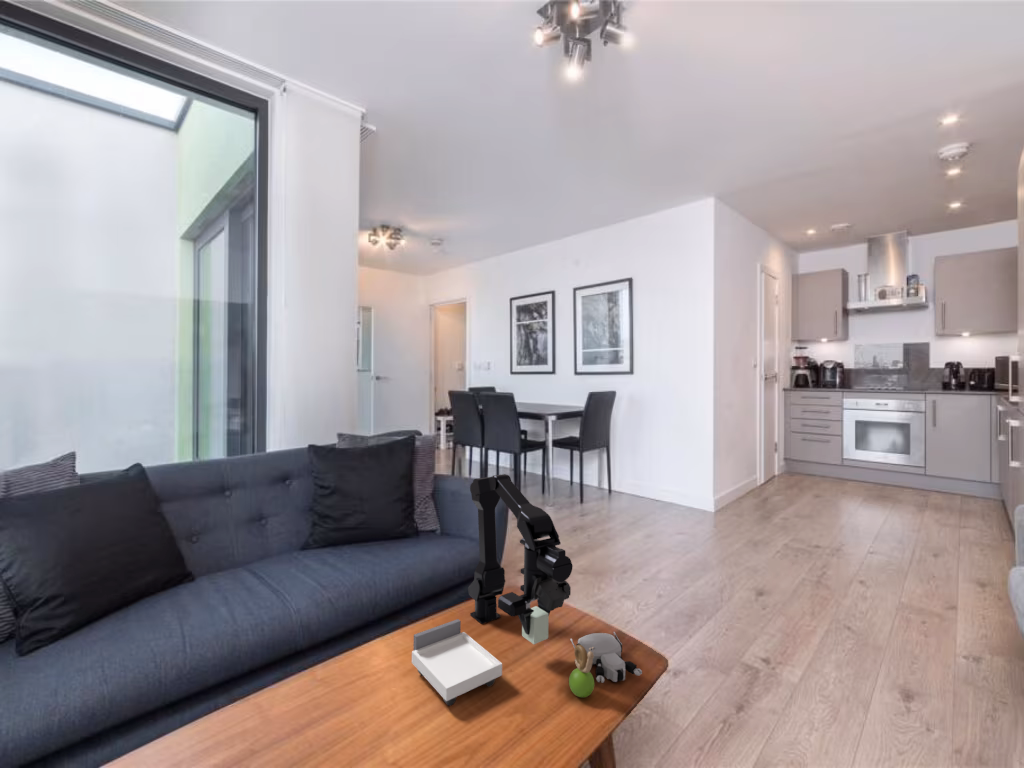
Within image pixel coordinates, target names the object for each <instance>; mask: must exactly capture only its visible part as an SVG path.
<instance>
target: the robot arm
mask: <svg viewBox="0 0 1024 768" xmlns="http://www.w3.org/2000/svg"><path fill="white" fill-rule="evenodd" d="M469 490H470V494H471V501H472V502H473V504H474V506H476V508H477V515H478V516H477V517H478V518H477V519H478V521H477V522H478V542H479V543H478V546H479V561H478V563H477V566H476V568H475V569H474V574H473V575H474V576H473V577H474V579H473V581H472V582H471V583H470V584H469V585H468V587H467V590H468V596H469V597H471V598H472V600H474V611H472V612H470V616H471V617H472V618H473V619H475V620H476V621H477V622H478V623H480V624H481V625H484V624H486V623H490V622H491V621H495V620H497V619H500V618H501V616H502V615H501V614H499V613H498V612H497V611H498V609H497V608H499V609H500V610H501V611H502V612H504V613H505V614H508V615H509V616H510V617H514V618H515V617H517V616H518V618H519V621H520V624H521V627H522V626H523V628H524V631H525V633H526V634H527V635H529V633H530V616H531V614H532V613H533V612H534V610H532V609H531V608H532V607H531V603H532V602H535V601H537V607H539V608H540V609H542V610H544V611H545V612H547V613H549V615H550V613H551V611H554V610H556V609H558V608H562V607H563V605H564V602H565V601H566V600H568V599H570V596H571V590H572V589H571V585H570V583H569V582H568V581H567V580H568V579H569V577H570V576H571V574H572V572H573V567H574V565H573V562H572V560H571V558H570V557H569V556H567V555H566V553H567V552H566V549H564V548H560V547H558V546H560V545H561V541H560V538H559V537H560V536H559V533H558V532H557V529H556V527H555V524H554V522H553V519H552V517H551V516H550V515H549V514H548V512H546V511H545V510H544V509H542V508H541V507H538V506H535V505H534V504H532V503H530V501H529V500H528V498H526V496H525V495H524V494H523V493H522V492H521V491H520V490H519V488H518V487H517V486H516V485H515V483H514V482H513V481H512V479H511V476H510V475H508V474H506V473H503V474H495V475H492V476H486V477H479V478H474V479H473V480H472V482H471V483H470V485H469ZM500 500H502V501H503V503H504V504H505V505H506V506H507V508H508V509H509V510H510V511H511V513H512V514H513V515H514V517H515V518H516V528H517V530H518V531H519V533H520V535H521V536H522V538H521V539H519V543H520V544H522V545H523V546H524V549H523V550H524V551H523V552H524V553H523V561H524V562H523V567H522V568H520V574H522V575H523V584H521V585H520V591H522V592H523V594H521V595H518V594H517V593H516V592H514V591H511V592H508V593H504V588H505V584H506V579H505V578H506V577H505V573H506V571H505V568H504V567H502V566H501V564H500V563H499V561H498V549H497V524H496V521H497V520H496V508H497V506H498V505H499V504H498V503H499V502H500ZM547 537H549V538H547ZM542 538H543V539H542ZM544 538H545V539H544ZM503 593H504V594H503ZM497 596H499V597H498V599H497Z"/></svg>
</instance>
